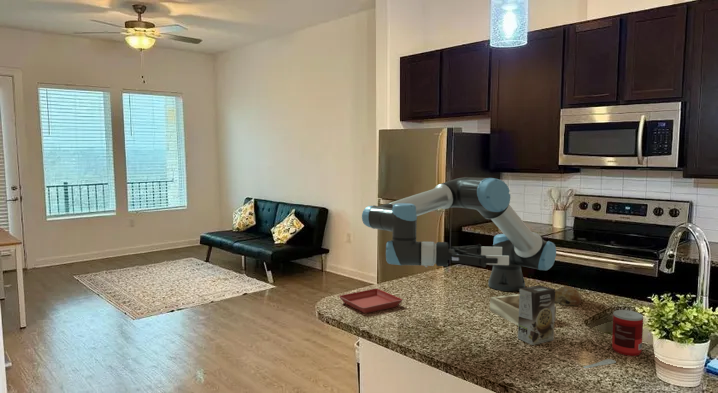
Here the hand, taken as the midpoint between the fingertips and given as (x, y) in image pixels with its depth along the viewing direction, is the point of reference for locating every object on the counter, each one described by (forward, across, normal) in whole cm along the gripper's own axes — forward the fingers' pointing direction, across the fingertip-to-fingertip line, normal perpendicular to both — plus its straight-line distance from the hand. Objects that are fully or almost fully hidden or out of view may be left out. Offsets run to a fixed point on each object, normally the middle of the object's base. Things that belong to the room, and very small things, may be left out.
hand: (505, 255), depth 151 cm
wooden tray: (+10, -22, -26) cm, 35 cm away
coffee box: (+10, 0, -26) cm, 28 cm away
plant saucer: (-45, -28, -27) cm, 59 cm away
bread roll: (+30, -42, -26) cm, 58 cm away
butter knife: (+18, +20, -27) cm, 38 cm away
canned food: (+34, +6, -26) cm, 43 cm away
